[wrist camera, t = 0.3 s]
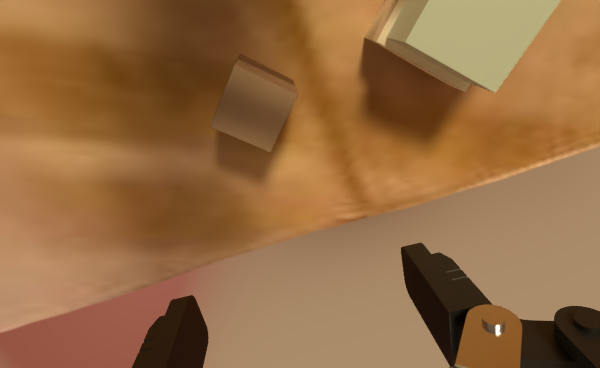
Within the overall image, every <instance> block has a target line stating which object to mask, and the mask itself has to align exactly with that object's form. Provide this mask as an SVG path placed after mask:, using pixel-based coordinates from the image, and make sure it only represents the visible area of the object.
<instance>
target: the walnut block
mask: <svg viewBox="0 0 600 368" xmlns="http://www.w3.org/2000/svg"><path fill="white" fill-rule="evenodd" d="M297 97H298V94H297V91H296V88H295V85H294V82H293V80H292V79H290V78H288V77H286V76H284V75H282V74H280V73H278V72H276V71H274V70H272V69H270V68H268V67H266V66H264V65H262V64H260V63H258V62H256V61H254V60H252V59H250V58H248V57H246V56H244V55H242V54H240V56H239V57H238V59H237V61H236V63H235V65H234V67H233V70H232V72H231V75H230V77H229V80H228V82H227V85H226V87H225V90H224V92H223V95H222V97H221V100H220V102H219V105H218V107H217V110H216V112H215V115H214V117H213V120H212V123H211V125H210V127H212V128H214V129H216V130H219V131H221V132H223V133H226V134H228V135H230V136H233V137H235V138H237V139H240V140H242V141H244V142H247V143H249V144H252V145H254V146H256V147H259V148H261V149H263V150H266V151H268V152H270V151H271V149H272V147H273V145H274V143H275V141H276V139H277V137H278V135H279V133H280V131H281V129H282V127H283V125H284V123H285V121H286V119H287V117H288V115H289V113H290V111H291V109H292V107H293V105H294V103H295V101H296V99H297Z"/></svg>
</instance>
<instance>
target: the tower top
mask: <svg viewBox="0 0 600 368" xmlns="http://www.w3.org/2000/svg"><path fill="white" fill-rule="evenodd" d="M560 1H561V0H407V1H406V2H405V4H404V6H403V8H402V10H401V12H400V14H399V15H398V17H397V19H396V21H395V23H394V25H393V27H392V28H391V30H390V32H389V34H388V36H387V38H389V39H390V40H392V41H394V42H396V43H398V44H399V45H401V46H403V47H405V48H406V49H408V50H410V51H412V52H414V53H415V54H417V55H419V56H421V57H423V58H424V59H426V60H428V61H430V62H432V63H433V64H435V65H437V66H439V67H440V68H442V69H444V70H446V71H448V72H449V73H451V74H453V75H455V76H457V77H458V78H460V79H462V80H464V81H466V82H468V83H470V84H473V85H475V86H478V87H481V88H483V89H486V90H489V91H491V92H494V93H496V91H497V90H498V88H499V87H500V86H501V84H502V83H503V81H504V80H505V79H506V77H507V76H508V74H509V73H510V72H511V70H512V69H513V67H514V66H515V64H516V63H517V62H518V60H519V59H520V57H521V56H522V55H523V53H524V52H525V50H526V49H527V47H528V46H529V45H530V43H531V42H532V40H533V39H534V38H535V36H536V35H537V33H538V32H539V31H540V29H541V28H542V26H543V25H544V23H545V22H546V21H547V19H548V18H549V16H550V15H551V14H552V12H553V11H554V9H555V8H556V6H557V5H558V4H559V2H560Z"/></svg>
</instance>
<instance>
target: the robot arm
mask: <svg viewBox="0 0 600 368" xmlns="http://www.w3.org/2000/svg"><path fill="white" fill-rule="evenodd" d="M401 255H402V263H403V271H404V279H405V284H406V288H407V291H408V293H409V295H410V298H411V299H412V301H413V303H414V305H415V306H416V308H417V310H418V311H419V313H420V315H421V317H422V319H423V320H424V322H425V324H426V325H427V327H428V329H429V330H430V332H431V334H432V336H433V338H434V339H435V341H436V343H437V344H438V346H439V348H440V349H441V351H442V353H443V355H444V357H445V358H446V360H447V362H448V363H449V365H450V367H449V368H600V311H597V310H594V309H591V308H587V307H581V306H569V307H564V308H562V309H560V310H558V311H557V312H556V314H555V316H554V321H532V320H522V319H519V318H518V317H517V316H516V315H515V314H514V313H512V312H511V311H509V310H507V309H505V308H503V307H500V306H496V305H492V303H491V302H490V301H489V300H488V299H487V298H486V297H485V296H484V295H483V293H482V292H481V291H480V290H479V289H478V288H477V287H476V286H475V285H474V283H473V282H472V281H471V280H470V279H469V278H467V275H466V274H465V273H464V272H463V271H462V270H460V268H459V266H458V265H457V264H456V263H455V262H454V261H453V260H452V259H451V258H449V257H447V256H445V255H443V254H441V253H435V254H431V253H430V252H429V251H428V250H427V248H426V247H425V246H424V245H423V244H422V243H417V244H413V245H408V246H405V247H402V248H401ZM207 346H208V330H207V326H206V324H205V321H204V319H203V316H202V314H201V311H200V309H199V306H198V304H197V302H196V299H195V297H194V296H192V295H191V296H186V297H182V298H178V299H173V300H172V301H171V302H170V304H169V307H168V309H167V312H166V314H165V316H161V317H159V318H158V319H157V320H156V321H155V322H154V324H153V325H152V326H151V327H150V328H149V330H148V333H147V335H146V337H145V339H144V343H143V344H142V346H141V348H140V353H138V355H137V357H136V360H135V362H134V364H133V366H132V368H203V364H204V359H205V355H206V350H207Z"/></svg>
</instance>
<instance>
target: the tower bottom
mask: <svg viewBox="0 0 600 368" xmlns="http://www.w3.org/2000/svg"><path fill="white" fill-rule="evenodd" d="M406 1H407V0H384V2H383V4H382V6H381V8H380V9H379V11H378V13H377V15H376V17H375V19H374V21H373V23H372V24H371V26H370V28H369V30H368V32H367V34H366V36H365V38H366V39H368V40H370V41H371V42H373V43H375V44H377V45H378V46H380V47H382V48H384V49H385V50H387V51H389V52H391V53H392V54H394V55H396V56H398V57H399V58H401V59H403V60H405V61H406V62H408V63H410V64H412V65H413V66H415V67H417V68H419V69H421V70H422V71H424V72H426V73H428V74H429V75H431V76H433V77H435V78H436V79H438V80H440V81H442V82H443V83H445V84H447V85H449V86H452V87H454V88H456V89H458V90H461V91H463V92H466V91H467V89H468V88H469V86H470V85H471V84H470V83H468V82H466V81H464V80H462V79H460V78H458V77H457V76H455V75H453V74H451V73H449V72H448V71H446V70H444V69H442V68H440V67H439V66H437V65H435V64H433V63H432V62H430V61H428V60H426V59H424V58H423V57H421V56H419V55H417V54H415V53H414V52H412V51H410V50H408V49H406V48H405V47H403V46H401V45H399V44H398V43H396V42H394V41H392V40H390V39H389V38H387V36H388V34H389V32H390V30H391V28H392V27H393V25H394V23H395V21H396V19H397V17H398V15H399V14H400V12H401V10H402V8H403V6H404V4H405V2H406Z"/></svg>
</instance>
